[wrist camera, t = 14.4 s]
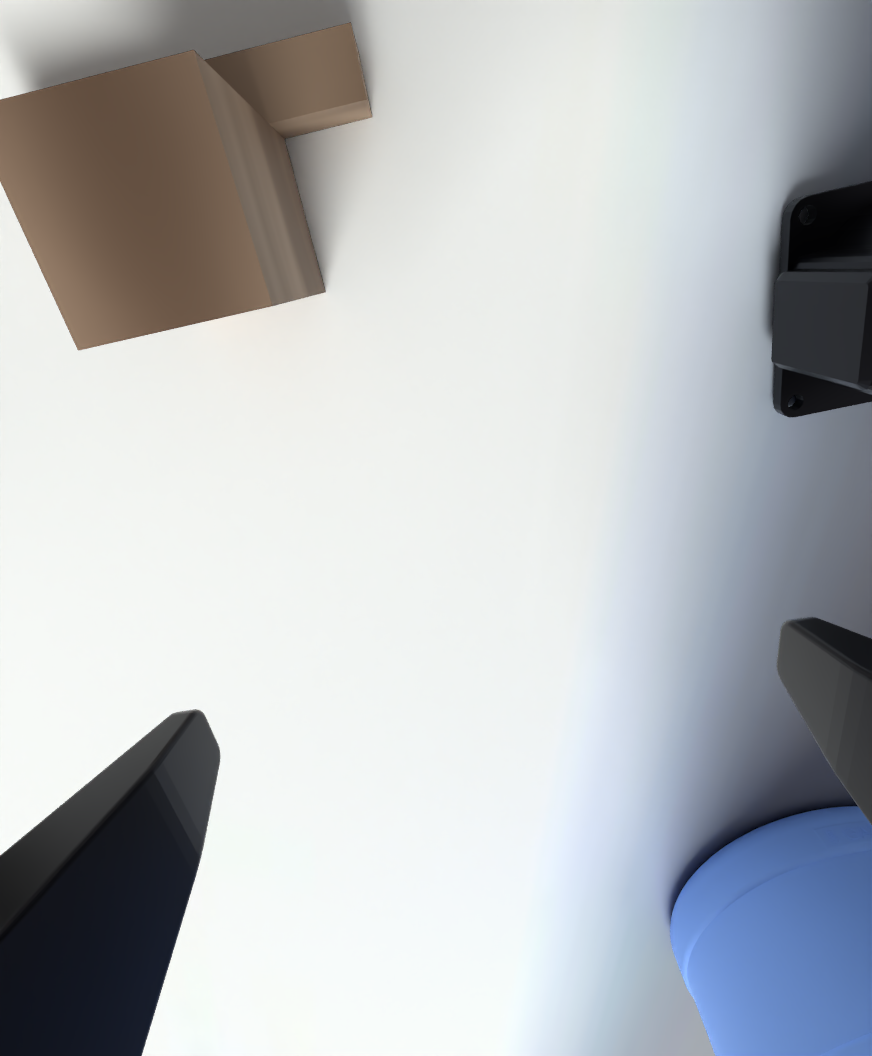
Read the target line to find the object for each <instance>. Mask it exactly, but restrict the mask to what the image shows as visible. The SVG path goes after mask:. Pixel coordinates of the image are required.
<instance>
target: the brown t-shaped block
mask: <svg viewBox="0 0 872 1056" xmlns="http://www.w3.org/2000/svg"><path fill="white" fill-rule="evenodd" d="M371 117H372V114H371V109H370V105H369V100H368V95H367V90H366V86H365V81H364V76H363V71H362V67H361V62H360V57H359V52H358V48H357V44H356V41H355V37H354V33H353V29H352V26H351V22H350V23H346V24H343V25H339V26H335V27H331V28H327V29H323V30H319V31H315V32H311V33H308V34H304V35H300V36H296V37H292V38H288V39H284V40H280V41H276V42H273V43H269V44H265V45H261V46H257V47H253V48H249V49H245V50H241V51H237V52H234V53H230V54H226V55H222V56H218V57H214V58H210V59H206V60H203V59H202V58H201V57H200V56H199V55H198V54H197V53H196V52H195V51H194V50H191V51H187V52H183V53H180V54H176V55H172V56H168V57H164V58H160V59H156V60H152V61H149V62H145V63H141V64H137V65H133V66H129V67H125V68H122V69H118V70H114V71H110V72H106V73H102V74H98V75H94V76H91V77H87V78H83V79H79V80H75V81H71V82H67V83H63V84H60V85H56V86H52V87H48V88H44V89H40V90H36V91H32V92H29V93H25V94H21V95H17V96H13V97H9V98H5V99H2V100H0V182H1V184H2V186H3V188H4V191H5V193H6V195H7V197H8V199H9V201H10V204H11V206H12V208H13V210H14V212H15V214H16V217H17V219H18V221H19V223H20V225H21V227H22V230H23V232H24V234H25V236H26V238H27V241H28V243H29V245H30V247H31V249H32V251H33V254H34V256H35V258H36V260H37V262H38V264H39V267H40V269H41V271H42V273H43V275H44V277H45V280H46V282H47V284H48V286H49V288H50V290H51V293H52V295H53V297H54V299H55V301H56V303H57V306H58V308H59V310H60V312H61V314H62V317H63V319H64V321H65V323H66V325H67V327H68V330H69V332H70V334H71V336H72V338H73V340H74V343H75V345H76V347H77V349H78V350H82V349H87V348H91V347H96V346H100V345H104V344H109V343H113V342H117V341H122V340H126V339H131V338H135V337H139V336H144V335H148V334H152V333H157V332H161V331H165V330H170V329H174V328H179V327H183V326H187V325H192V324H196V323H200V322H205V321H209V320H214V319H218V318H222V317H227V316H231V315H235V314H240V313H244V312H248V311H253V310H257V309H262V308H266V307H270V306H274V305H278V304H282V303H286V302H290V301H293V300H297V299H301V298H305V297H309V296H313V295H316V294H320V293H324V292H325V288H324V284H323V281H322V277H321V273H320V269H319V266H318V262H317V258H316V254H315V251H314V247H313V243H312V240H311V236H310V232H309V228H308V225H307V221H306V217H305V214H304V210H303V206H302V202H301V199H300V195H299V191H298V187H297V184H296V180H295V176H294V173H293V169H292V165H291V161H290V158H289V154H288V150H287V146H286V143H285V139H286V138H290V137H294V136H298V135H302V134H306V133H310V132H314V131H318V130H323V129H327V128H331V127H335V126H339V125H343V124H347V123H351V122H355V121H359V120H363V119H367V118H371Z"/></svg>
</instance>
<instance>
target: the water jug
mask: <svg viewBox="0 0 872 1056" xmlns="http://www.w3.org/2000/svg"><path fill="white" fill-rule="evenodd" d="M670 937H671V944H672V948H673V952H674V955H675V958H676V960H677V963H678V966H679V968H680V971H681V974H682V976H683V979H684V982H685V984H686V987H687V989H688V991H689V992H690V994H691V995H692V997H693V998H694V1000H695V1003H696V1005H697V1008H698V1011H699V1013H700V1016H701V1018H702V1021H703V1024H704V1026H705V1029H706V1032H707V1034H708V1037H709V1039H710V1042H711V1045H712V1047H713V1050H714V1053H715V1055H716V1056H872V825H871V823H870V822H869V821H868V819H867V818H866V817H865V815H864V814H863V812H862V811H861V810H860V808H859V807H858V806H846V807H834V808H826V809H819V810H814V811H809V812H804V813H800V814H796V815H793V816H789V817H786V818H783V819H780V820H777V821H774V822H771V823H769V824H766V825H764V826H762V827H759V828H757V829H755V830H753V831H751V832H749V833H747V834H745V835H743V836H741V837H739V838H738V839H736V840H734V841H733V842H731V843H729V844H728V845H726V846H725V847H723V848H722V849H721V850H719V851H718V852H717V853H715V854H714V855H713V856H711V857H710V858H709V859H708V860H707V861H706V862H705V863H704V864H702V865H701V866H700V867H699V868H698V870H697V871H696V872H695V873H694V874H693V875H692V876H691V878H690V879H689V880H688V882H687V883H686V884H685V886H684V887H683V889H682V891H681V893H680V894H679V896H678V899H677V901H676V903H675V906H674V909H673V913H672V917H671V924H670Z"/></svg>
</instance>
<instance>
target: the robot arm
mask: <svg viewBox="0 0 872 1056" xmlns="http://www.w3.org/2000/svg"><path fill="white" fill-rule="evenodd" d="M804 207H805V208H806V209H807V210H808V217H807V220H806V221H805V222H804V224H801V223H800V221H799V215H800V212H801V210H802V209H803V208H804ZM772 362H773V363H774V364H775V378H774V399H773V404H774V409H775V410H776V411H777V412H778V413H780V414H782V415H785V416H787V417H798V416H803V415H808V414H813V413H817V412H822V411H827V410H832V409H837V408H842V407H847V406H852V405H856V404H861V403H866V402H871V401H872V181H870V182H865V183H861V184H856V185H852V186H848V187H843V188H839V189H834V190H830V191H826V192H821V193H817V194H812V195H808V196H804V197H800V198H798V199H795V200H793V201H792V202H791V203H790V204H789V205H788V206H787V208H786V210H785V211H784V214H783V218H782V233H781V253H780V274H779V277H778V279H777V280H776V282H775V294H774V316H773V338H772ZM794 395H796V401H795V403H794V404H793V405H792V406H790V407H788V402H789V399H790V398H791V397H792V396H794ZM777 670H778V674H779V677H780V679H781V681H782V683H783V685H784V687H785V689H786V690H787V692H788V694H789V695H790V697H791V699H792V701H793V702H794V704H795V706H796V708H797V709H798V711H799V713H800V715H801V716H802V718H803V720H804V722H805V723H806V725H807V727H808V729H809V730H810V732H811V734H812V735H813V737H814V739H815V741H816V742H817V744H818V746H819V748H820V749H821V751H822V753H823V755H824V756H825V758H826V760H827V761H828V763H829V764H830V766H831V768H832V769H833V771H834V773H835V774H836V776H837V777H838V778H839V780H840V781H841V783H842V784H843V786H844V787H845V789H846V790H847V791H848V793H849V794H850V796H851V797H852V798H853V800H854V801H855V803H856V804H857V805H858V807H859V808H860V810H861V811H862V812H863V814H864V815H865V817H866V818H867V819H868V821H869V822H870V823H871V825H872V639H871V638H868V637H865V636H863V635H860V634H857V633H855V632H852V631H850V630H847V629H844V628H842V627H839V626H837V625H834V624H831V623H829V622H826V621H824V620H821V619H818V618H815V617H806V618H800V619H793V620H788V621H786V622H784V623H783V625H782V626H781V630H780V639H779V648H778V657H777ZM219 764H220V750H219V746H218V743H217V741H216V739H215V737H214V735H213V732H212V730H211V728H210V726H209V723H208V721H207V719H206V717H205V715H204V713H203V712H201V711H200V710H196V709H195V710H188V711H181V712H176V713H173V714H171V715H170V716H169V717H168V718H166V719H165V720H164V721H163V722H162V723H160V724H159V725H158V726H157V727H155V728H154V729H153V730H152V731H151V732H149V733H148V734H147V735H146V736H145V737H143V738H142V739H141V740H140V741H138V742H137V743H136V744H135V745H134V746H132V747H131V748H130V749H129V750H128V751H126V752H125V753H124V754H123V755H122V756H120V757H119V758H118V759H117V760H115V761H114V762H113V763H112V764H111V765H109V766H108V767H107V768H106V769H105V770H103V771H102V772H101V773H100V774H98V775H97V776H96V777H95V778H94V779H92V780H91V781H90V782H89V783H88V784H86V785H85V786H84V787H83V788H82V789H80V790H79V791H78V792H77V793H75V794H74V795H73V796H72V797H71V798H69V799H68V800H67V801H66V802H65V803H63V804H62V805H61V806H60V807H59V808H57V809H56V810H55V811H54V812H52V813H51V814H50V815H49V816H48V817H46V818H45V819H44V820H43V821H42V822H40V823H39V824H38V825H37V826H35V827H34V828H33V829H32V830H31V831H29V832H28V833H27V834H26V835H25V836H23V837H22V838H21V839H20V840H19V841H17V842H16V843H15V844H14V845H12V846H11V847H10V848H9V849H8V850H6V851H5V852H4V853H3V854H2V855H0V1056H142V1053H143V1049H144V1046H145V1043H146V1040H147V1036H148V1033H149V1030H150V1026H151V1023H152V1020H153V1016H154V1013H155V1010H156V1006H157V1003H158V1000H159V996H160V993H161V990H162V986H163V983H164V980H165V977H166V973H167V970H168V967H169V963H170V960H171V957H172V953H173V950H174V947H175V943H176V940H177V937H178V933H179V930H180V927H181V923H182V920H183V917H184V914H185V910H186V907H187V904H188V900H189V897H190V894H191V890H192V887H193V884H194V880H195V877H196V873H197V870H198V866H199V863H200V859H201V855H202V850H203V846H204V841H205V836H206V831H207V826H208V821H209V816H210V810H211V805H212V800H213V795H214V790H215V785H216V780H217V775H218V769H219Z"/></svg>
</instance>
